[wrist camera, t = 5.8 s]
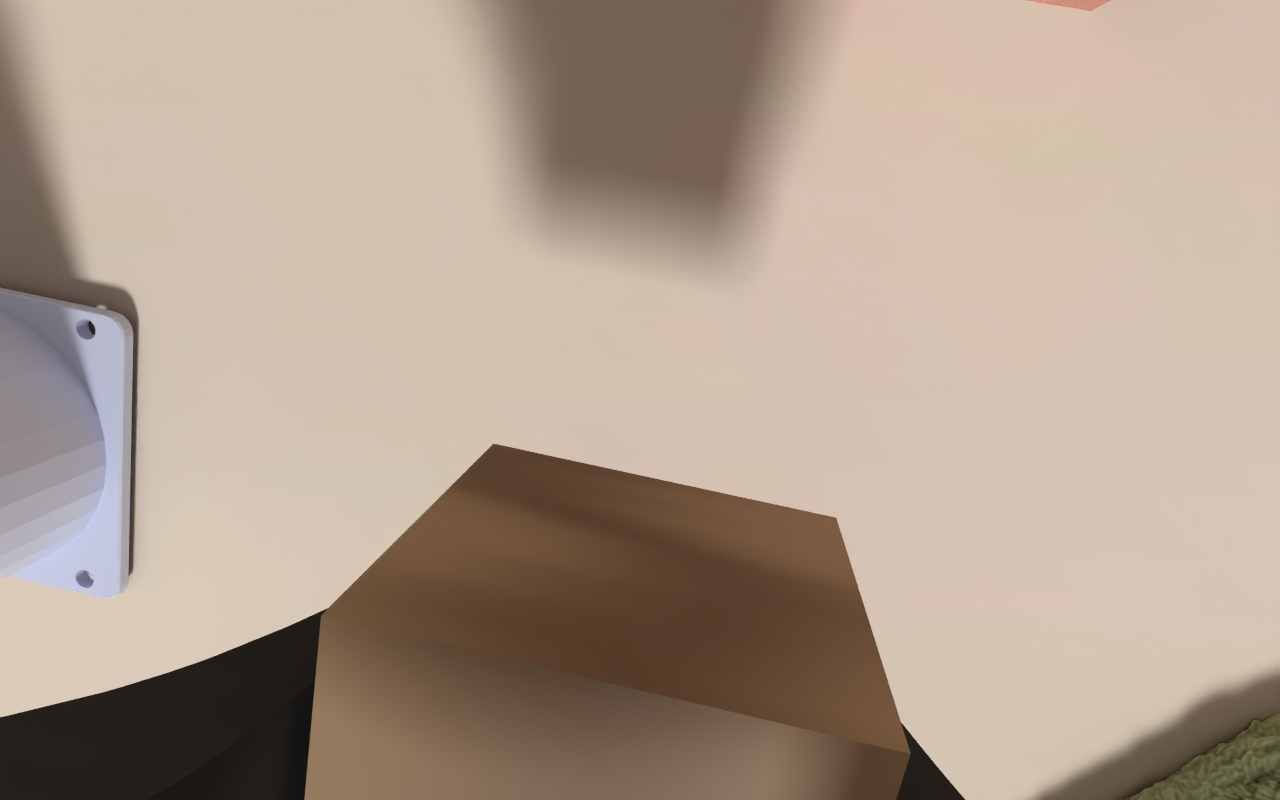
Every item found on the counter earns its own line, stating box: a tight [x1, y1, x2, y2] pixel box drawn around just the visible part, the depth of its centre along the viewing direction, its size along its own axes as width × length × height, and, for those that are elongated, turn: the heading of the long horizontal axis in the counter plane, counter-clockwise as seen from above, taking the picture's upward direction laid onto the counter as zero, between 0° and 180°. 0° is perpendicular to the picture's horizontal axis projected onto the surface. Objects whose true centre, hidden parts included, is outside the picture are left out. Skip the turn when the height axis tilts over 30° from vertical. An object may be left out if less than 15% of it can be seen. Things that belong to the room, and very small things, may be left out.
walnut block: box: [304, 444, 911, 800], centre depth 10 cm, size 5×5×5 cm
